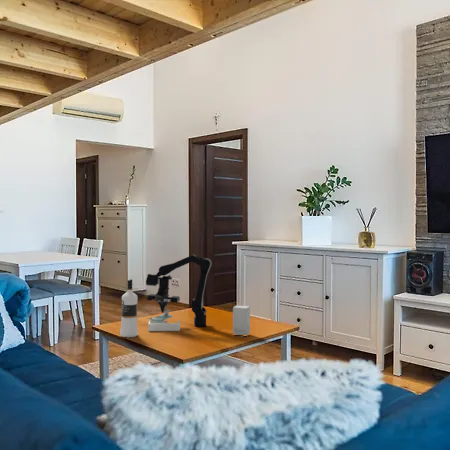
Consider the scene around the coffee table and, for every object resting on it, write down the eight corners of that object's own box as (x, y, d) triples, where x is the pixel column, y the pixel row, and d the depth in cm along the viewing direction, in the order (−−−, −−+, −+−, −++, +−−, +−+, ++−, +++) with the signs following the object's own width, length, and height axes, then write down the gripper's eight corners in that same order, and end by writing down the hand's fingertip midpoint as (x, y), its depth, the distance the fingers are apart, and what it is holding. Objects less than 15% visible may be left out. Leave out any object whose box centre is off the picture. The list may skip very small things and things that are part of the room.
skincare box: (250, 334, 256) (250, 306, 255) (246, 337, 249) (247, 308, 249) (235, 332, 258) (236, 304, 258) (232, 335, 252) (232, 307, 252)
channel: (179, 327, 268) (179, 320, 268) (180, 330, 261) (180, 323, 261) (148, 327, 266) (148, 320, 266) (148, 331, 258) (148, 323, 258)
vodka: (139, 337, 246) (140, 280, 245) (122, 338, 242) (123, 280, 241) (135, 332, 254) (136, 277, 253) (118, 334, 250) (119, 278, 250)
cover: (160, 315, 279) (161, 308, 279) (172, 316, 276) (172, 310, 276) (147, 320, 265) (148, 313, 265) (159, 322, 262) (159, 314, 262)
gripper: (143, 287, 270) (142, 314, 270) (174, 289, 266) (173, 317, 267) (150, 284, 281) (149, 310, 281) (180, 286, 277) (179, 313, 278)
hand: (162, 312), depth 276 cm, fingers closed
